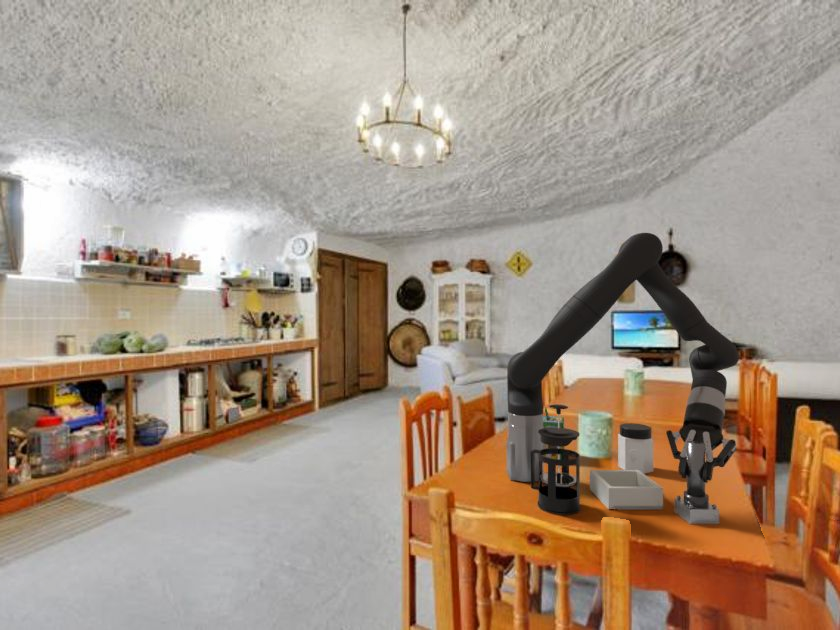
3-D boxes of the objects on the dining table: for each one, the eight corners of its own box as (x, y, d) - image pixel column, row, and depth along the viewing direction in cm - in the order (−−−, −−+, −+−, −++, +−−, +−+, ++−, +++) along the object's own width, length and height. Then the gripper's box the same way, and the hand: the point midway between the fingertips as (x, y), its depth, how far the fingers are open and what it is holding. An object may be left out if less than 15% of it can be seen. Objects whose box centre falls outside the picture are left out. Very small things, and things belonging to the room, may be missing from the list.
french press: (589, 505, 106) (588, 404, 106) (576, 520, 98) (575, 411, 98) (539, 493, 113) (539, 399, 113) (523, 506, 105) (523, 405, 105)
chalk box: (564, 462, 137) (564, 412, 137) (532, 459, 140) (532, 410, 140) (565, 453, 145) (564, 406, 145) (535, 450, 148) (534, 404, 148)
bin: (608, 509, 103) (608, 488, 103) (589, 489, 115) (589, 470, 115) (663, 509, 103) (662, 488, 103) (638, 489, 115) (638, 470, 115)
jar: (616, 471, 129) (616, 427, 129) (619, 462, 136) (619, 421, 136) (652, 476, 124) (652, 431, 124) (654, 467, 131) (653, 425, 131)
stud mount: (689, 523, 96) (689, 505, 96) (674, 511, 102) (674, 494, 102) (719, 523, 96) (719, 505, 96) (701, 511, 102) (701, 494, 102)
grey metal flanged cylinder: (691, 508, 97) (691, 445, 97) (679, 499, 102) (679, 439, 101) (713, 508, 97) (713, 445, 97) (700, 499, 101) (700, 439, 101)
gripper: (667, 397, 109) (654, 462, 100) (740, 405, 100) (732, 476, 91) (673, 416, 113) (660, 479, 104) (743, 425, 104) (736, 495, 95)
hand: (694, 478), depth 98 cm, fingers closed on grey metal flanged cylinder, 3 cm apart
